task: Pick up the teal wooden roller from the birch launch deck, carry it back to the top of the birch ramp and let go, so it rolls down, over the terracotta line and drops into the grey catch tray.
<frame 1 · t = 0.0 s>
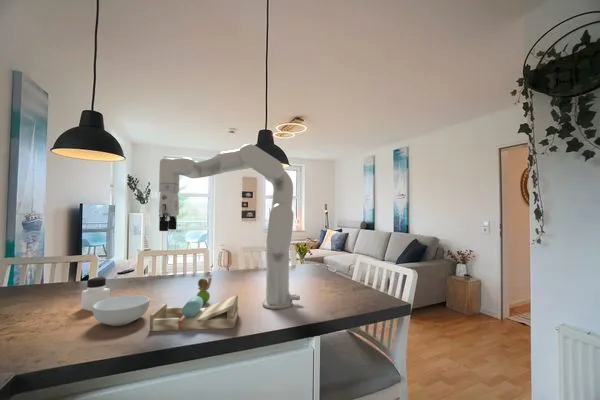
hand: (168, 230, 116), 31 cm above the counter, tool pointing down, fingers open, 9 cm apart
roller: (193, 306, 100), point 5 cm above the counter, touching launch ramp
snail figurine: (204, 303, 120), on the counter
cereal bowl: (122, 322, 100), on the counter
launch ramp: (198, 322, 100), on the counter
medicine bottle: (95, 308, 114), on the counter
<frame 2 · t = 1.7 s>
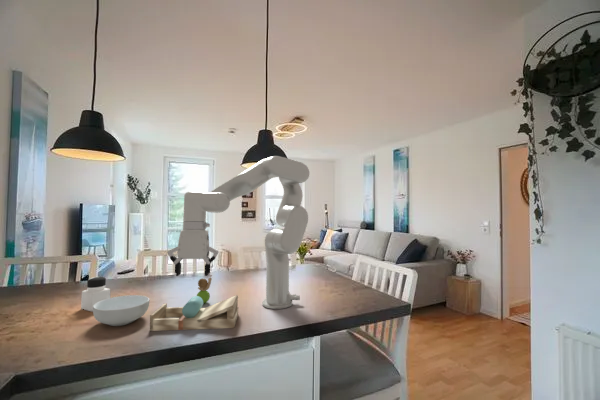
hand: (192, 275, 100), 17 cm above the counter, tool pointing down, fingers open, 9 cm apart
nothing on the counter moved.
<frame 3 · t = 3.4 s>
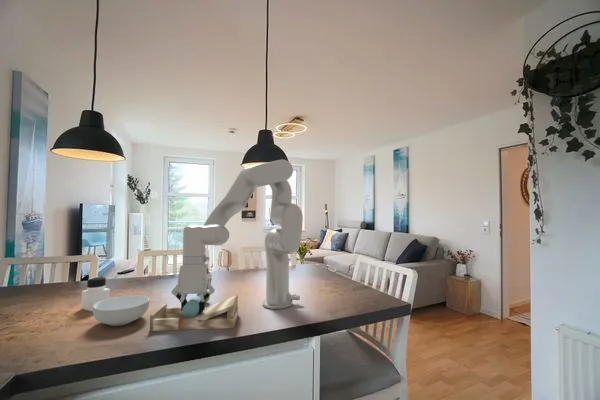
hand: (192, 312, 99), 4 cm above the counter, tool pointing down, fingers closed on roller, 5 cm apart
roller: (193, 306, 100), point 5 cm above the counter, touching gripper, launch ramp
everything else where it was.
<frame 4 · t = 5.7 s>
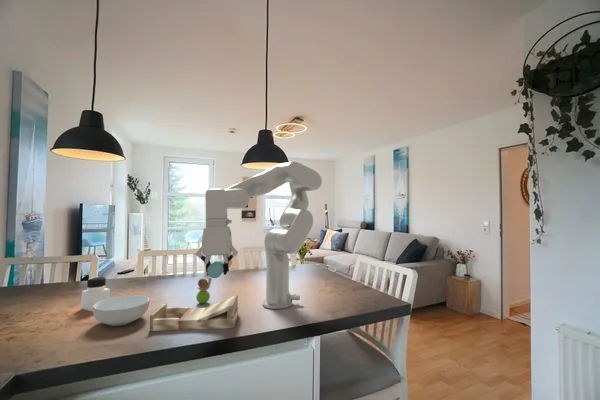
hand: (217, 273, 101), 17 cm above the counter, tool pointing down, fingers closed on roller, 5 cm apart
roller: (217, 268, 101), point 19 cm above the counter, touching gripper
everything else where it was.
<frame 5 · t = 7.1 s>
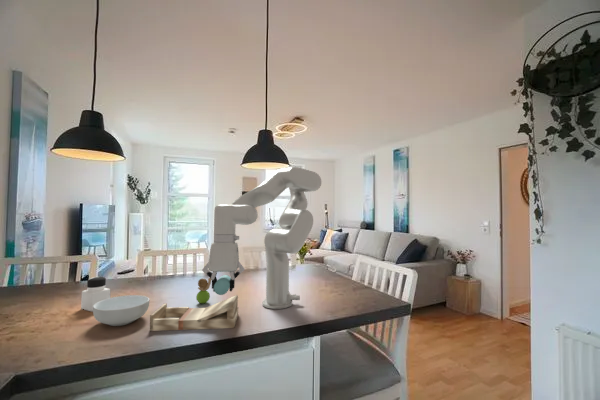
hand: (223, 290, 101), 11 cm above the counter, tool pointing down, fingers closed on roller, 5 cm apart
roller: (223, 284, 101), point 13 cm above the counter, touching gripper
everything else where it was.
when the fingers open (8 cm above the counter, at t = 8.0 s): roller drops 3 cm and tips over, resting on launch ramp.
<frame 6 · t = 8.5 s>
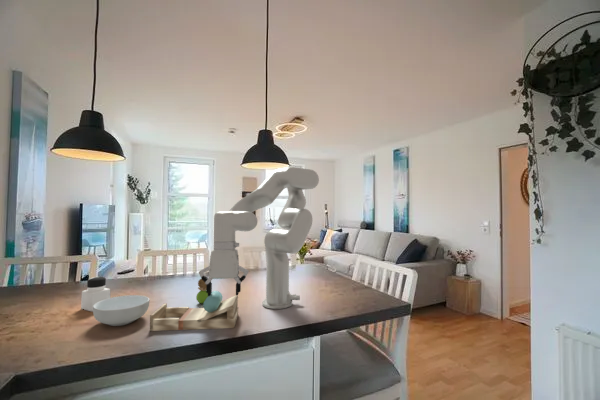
hand: (223, 294, 101), 9 cm above the counter, tool pointing down, fingers open, 9 cm apart
roller: (213, 301, 100), point 7 cm above the counter, tilted 89°, touching launch ramp
everything else where it was.
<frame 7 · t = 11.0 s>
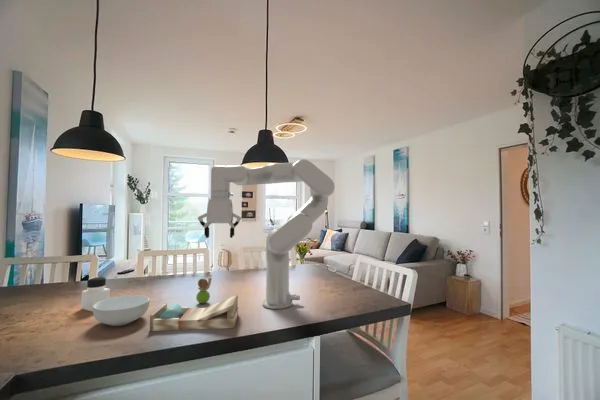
hand: (219, 237, 116), 28 cm above the counter, tool pointing down, fingers open, 9 cm apart
roller: (171, 315, 99), point 3 cm above the counter, tilted 95°, touching launch ramp
everything else where it was.
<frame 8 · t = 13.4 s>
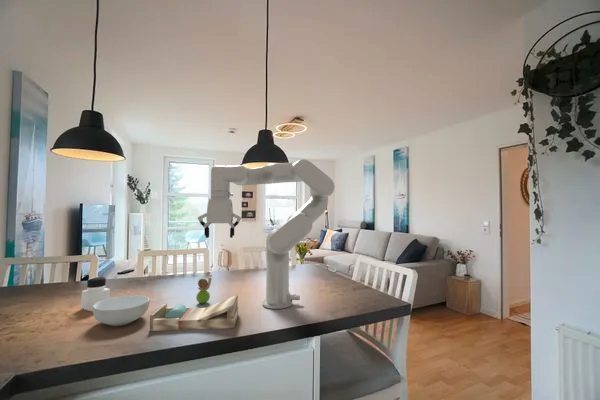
hand: (219, 237, 116), 28 cm above the counter, tool pointing down, fingers open, 9 cm apart
roller: (176, 315, 99), point 3 cm above the counter, tilted 56°, touching launch ramp
everything else where it was.
at the end: roller inside the target area (2.4 cm from its centre), point 2.8 cm above the counter; the gripper is holding nothing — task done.
